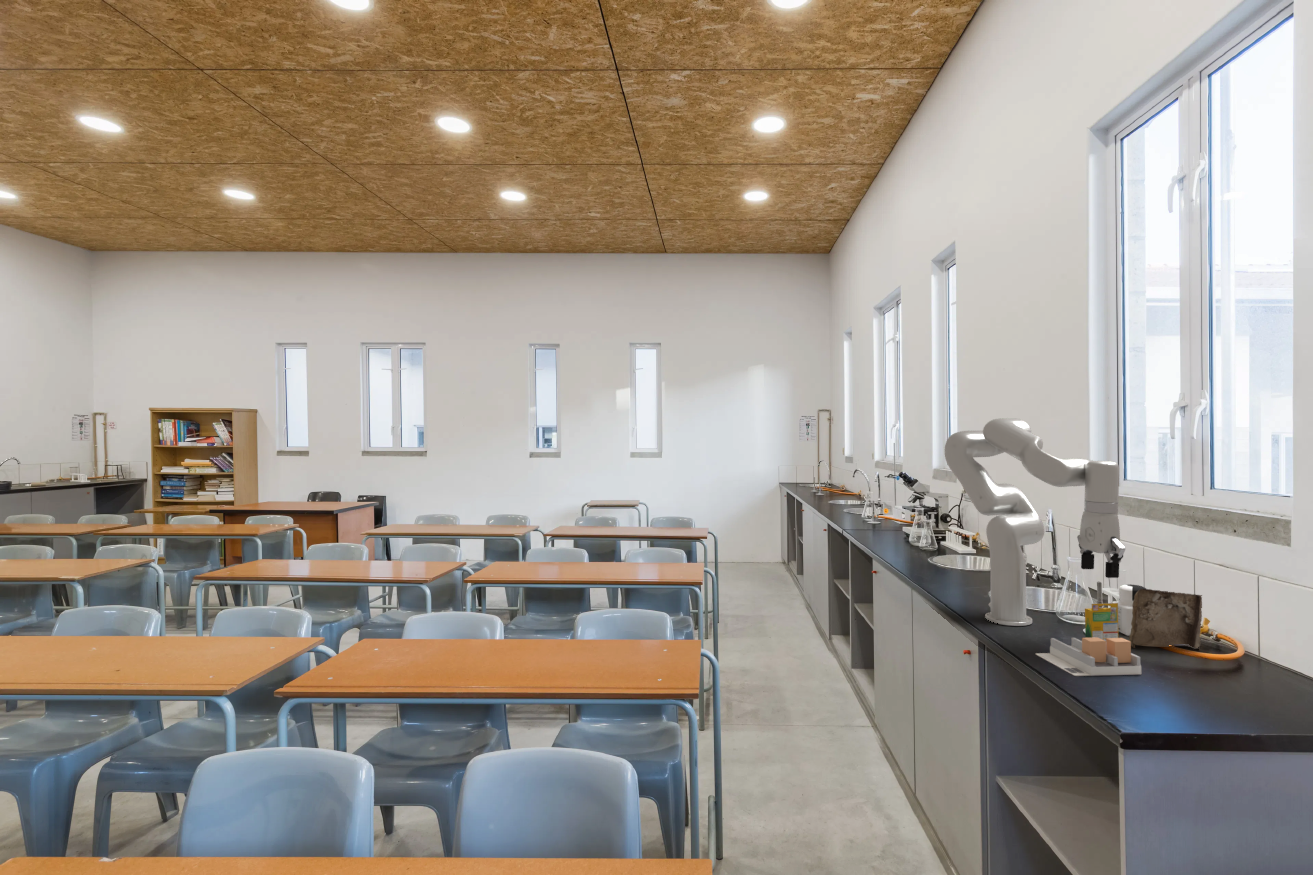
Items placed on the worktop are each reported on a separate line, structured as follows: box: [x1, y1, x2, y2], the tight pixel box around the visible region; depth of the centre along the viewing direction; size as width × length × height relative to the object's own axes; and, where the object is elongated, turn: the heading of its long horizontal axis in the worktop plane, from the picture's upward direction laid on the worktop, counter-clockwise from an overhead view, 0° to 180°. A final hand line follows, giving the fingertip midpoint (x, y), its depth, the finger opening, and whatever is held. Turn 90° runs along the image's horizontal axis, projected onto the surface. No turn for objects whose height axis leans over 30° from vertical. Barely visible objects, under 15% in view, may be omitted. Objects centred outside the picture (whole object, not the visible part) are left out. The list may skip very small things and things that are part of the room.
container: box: [1111, 583, 1147, 637], centre depth 198 cm, size 8×8×13 cm
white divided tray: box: [1035, 637, 1142, 677], centre depth 172 cm, size 16×16×4 cm
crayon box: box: [1084, 602, 1120, 641], centre depth 185 cm, size 7×3×12 cm, turn 93°
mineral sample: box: [1127, 588, 1203, 649], centre depth 184 cm, size 17×4×15 cm, turn 81°
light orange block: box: [1106, 637, 1132, 663], centre depth 167 cm, size 3×4×5 cm
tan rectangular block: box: [1081, 637, 1106, 662], centre depth 168 cm, size 3×4×5 cm
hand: (1099, 573), depth 186 cm, fingers open, 9 cm apart
